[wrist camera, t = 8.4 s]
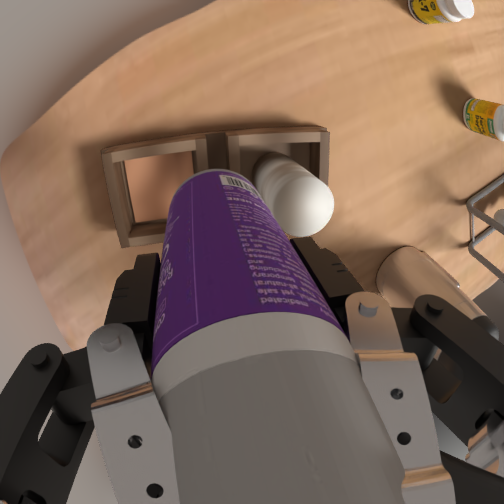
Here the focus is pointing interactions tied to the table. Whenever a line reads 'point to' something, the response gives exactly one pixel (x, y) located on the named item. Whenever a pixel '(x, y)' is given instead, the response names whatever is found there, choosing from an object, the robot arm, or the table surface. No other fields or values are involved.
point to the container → (258, 364)
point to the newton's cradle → (500, 222)
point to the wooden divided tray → (221, 157)
